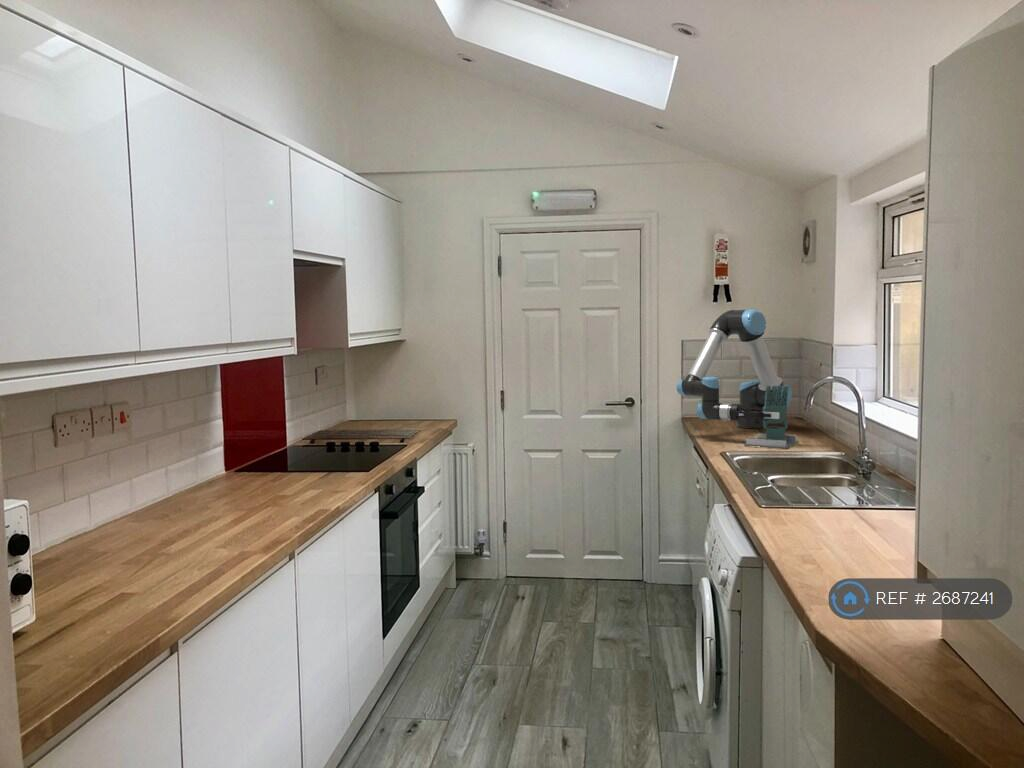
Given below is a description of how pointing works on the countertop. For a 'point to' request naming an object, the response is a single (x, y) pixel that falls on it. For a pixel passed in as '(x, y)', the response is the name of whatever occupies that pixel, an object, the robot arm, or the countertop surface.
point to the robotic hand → (776, 406)
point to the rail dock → (771, 441)
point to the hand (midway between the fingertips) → (782, 414)
